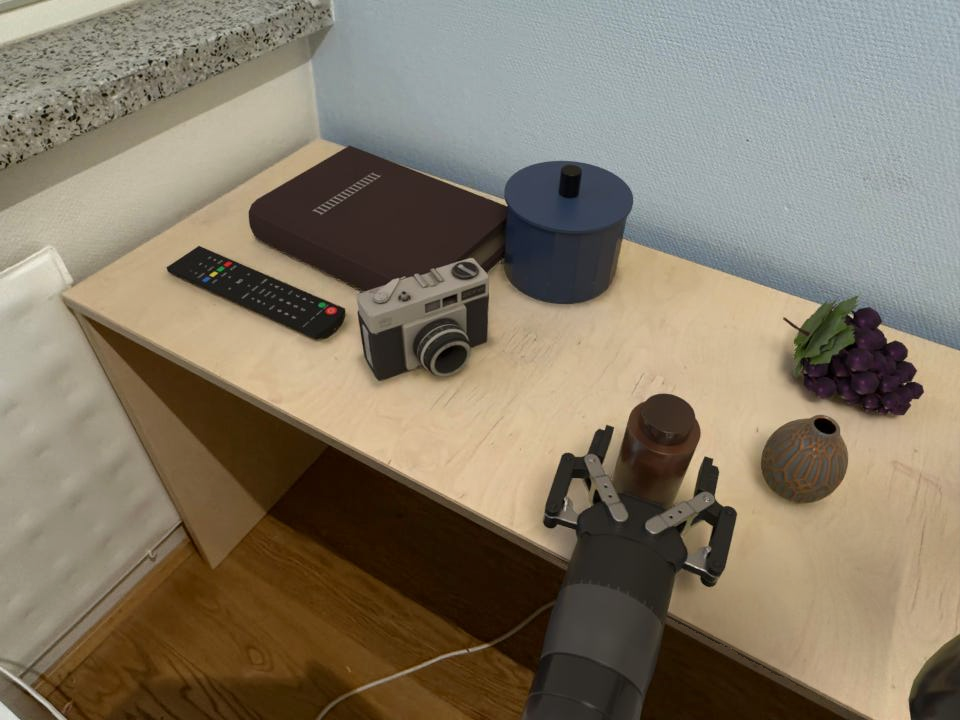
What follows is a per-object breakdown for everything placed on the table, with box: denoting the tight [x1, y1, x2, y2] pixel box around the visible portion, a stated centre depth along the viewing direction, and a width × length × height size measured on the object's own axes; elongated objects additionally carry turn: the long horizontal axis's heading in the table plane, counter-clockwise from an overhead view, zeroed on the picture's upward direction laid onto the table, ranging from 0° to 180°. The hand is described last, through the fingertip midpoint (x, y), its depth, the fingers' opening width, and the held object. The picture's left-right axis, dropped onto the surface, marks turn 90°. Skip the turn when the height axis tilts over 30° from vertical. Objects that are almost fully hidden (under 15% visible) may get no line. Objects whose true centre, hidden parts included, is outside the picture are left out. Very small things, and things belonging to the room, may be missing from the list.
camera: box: [356, 258, 490, 382], centre depth 70 cm, size 14×9×10 cm, turn 111°
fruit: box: [782, 294, 925, 417], centre depth 69 cm, size 10×11×15 cm
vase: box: [760, 414, 849, 504], centre depth 60 cm, size 7×7×9 cm
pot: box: [503, 205, 628, 305], centre depth 82 cm, size 14×14×10 cm
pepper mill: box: [611, 393, 702, 510], centre depth 56 cm, size 6×6×14 cm
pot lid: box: [503, 160, 634, 234], centre depth 77 cm, size 15×15×4 cm
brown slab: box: [248, 145, 507, 292], centre depth 86 cm, size 28×20×6 cm
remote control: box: [165, 245, 346, 341], centre depth 80 cm, size 5×24×1 cm, turn 60°
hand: (656, 446), depth 57 cm, fingers open, 8 cm apart
